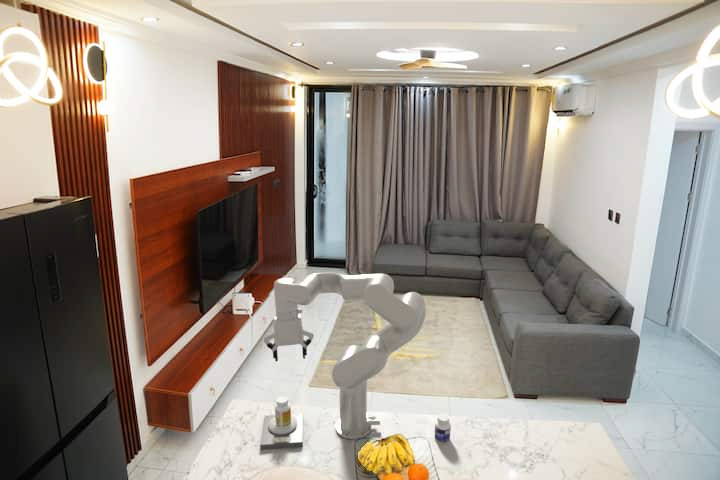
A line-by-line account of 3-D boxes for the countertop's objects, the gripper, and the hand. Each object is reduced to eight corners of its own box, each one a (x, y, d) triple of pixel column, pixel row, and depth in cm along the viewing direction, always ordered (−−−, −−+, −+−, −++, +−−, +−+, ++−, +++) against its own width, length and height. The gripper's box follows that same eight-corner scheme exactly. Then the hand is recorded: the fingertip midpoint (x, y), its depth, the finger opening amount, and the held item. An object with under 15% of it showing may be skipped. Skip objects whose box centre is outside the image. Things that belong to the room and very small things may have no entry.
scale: (303, 417, 182) (302, 411, 181) (302, 447, 167) (302, 440, 166) (264, 420, 181) (264, 413, 180) (260, 449, 165) (260, 442, 164)
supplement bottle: (292, 419, 177) (291, 395, 174) (289, 428, 171) (287, 404, 169) (278, 418, 177) (276, 394, 174) (274, 427, 172) (272, 403, 169)
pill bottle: (431, 439, 170) (432, 416, 168) (440, 432, 174) (442, 410, 171) (443, 446, 166) (444, 424, 164) (453, 439, 170) (454, 417, 167)
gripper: (311, 307, 175) (314, 350, 179) (262, 311, 172) (265, 355, 177) (312, 315, 167) (315, 360, 172) (261, 320, 165) (265, 366, 170)
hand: (290, 358), depth 174 cm, fingers open, 9 cm apart
